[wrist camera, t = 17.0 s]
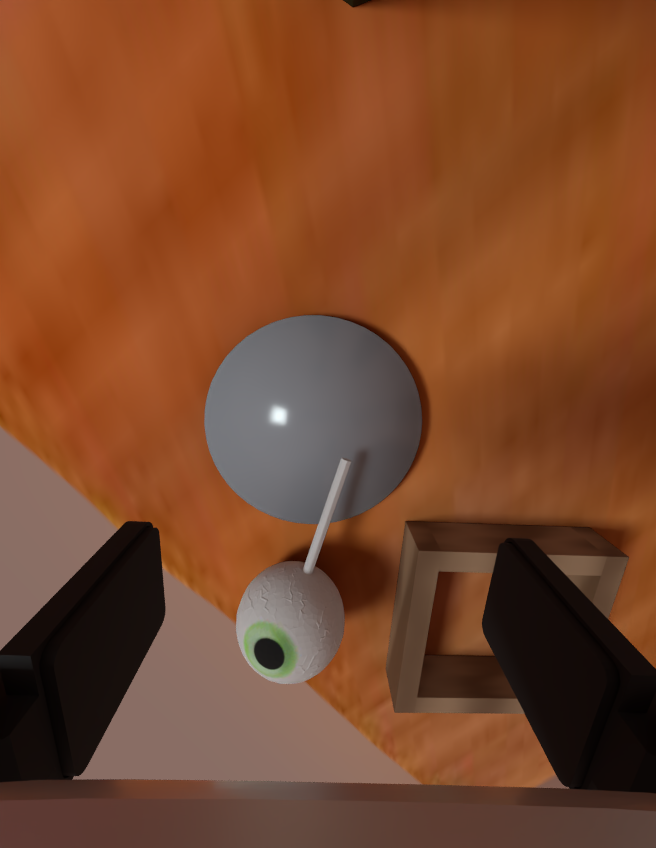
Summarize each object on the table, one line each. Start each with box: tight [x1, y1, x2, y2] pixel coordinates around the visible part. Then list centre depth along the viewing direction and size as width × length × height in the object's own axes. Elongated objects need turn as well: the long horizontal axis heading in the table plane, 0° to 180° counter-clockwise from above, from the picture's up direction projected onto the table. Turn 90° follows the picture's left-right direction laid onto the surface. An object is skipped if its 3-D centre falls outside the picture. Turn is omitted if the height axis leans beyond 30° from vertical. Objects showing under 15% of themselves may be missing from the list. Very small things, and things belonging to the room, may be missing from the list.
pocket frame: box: [386, 521, 629, 714], centre depth 27 cm, size 14×14×4 cm
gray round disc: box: [205, 315, 422, 524], centre depth 23 cm, size 14×14×1 cm
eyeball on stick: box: [236, 457, 351, 684], centre depth 23 cm, size 7×7×15 cm
